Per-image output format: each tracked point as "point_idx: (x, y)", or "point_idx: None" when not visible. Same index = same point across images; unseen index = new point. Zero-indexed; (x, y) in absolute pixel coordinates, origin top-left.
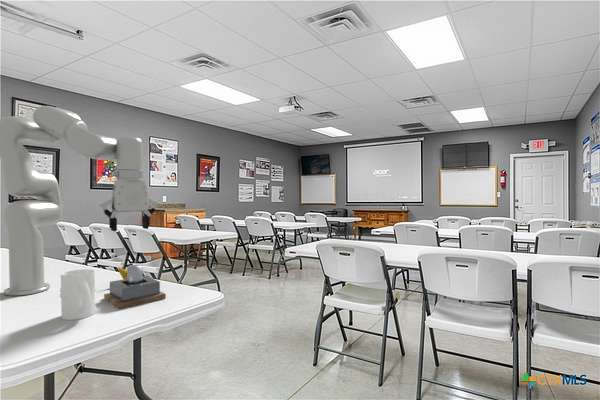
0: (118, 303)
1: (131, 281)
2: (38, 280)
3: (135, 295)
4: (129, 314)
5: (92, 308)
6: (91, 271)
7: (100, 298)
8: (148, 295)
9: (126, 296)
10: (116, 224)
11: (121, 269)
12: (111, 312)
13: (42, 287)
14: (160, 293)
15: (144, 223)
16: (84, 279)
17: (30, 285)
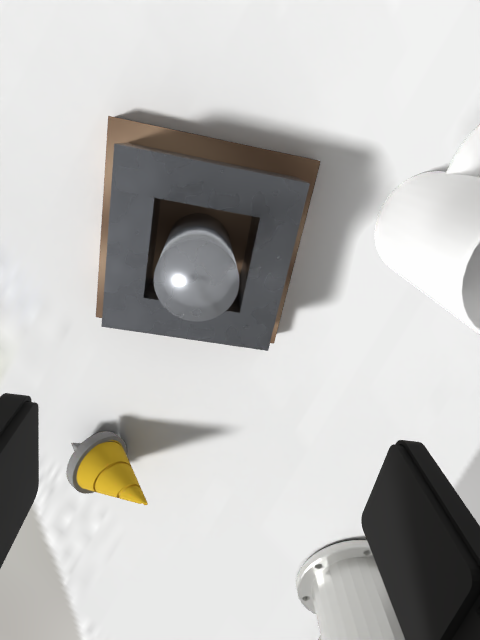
0: (317, 170)
1: (228, 241)
2: (348, 585)
3: (243, 167)
4: (335, 46)
5: (417, 182)
6: (456, 280)
7: (276, 349)
8: (183, 154)
9: (283, 175)
10: (431, 498)
11: (131, 491)
12: (354, 145)
13: (330, 561)
14: None
15: (10, 489)
16: None
17: (367, 571)
